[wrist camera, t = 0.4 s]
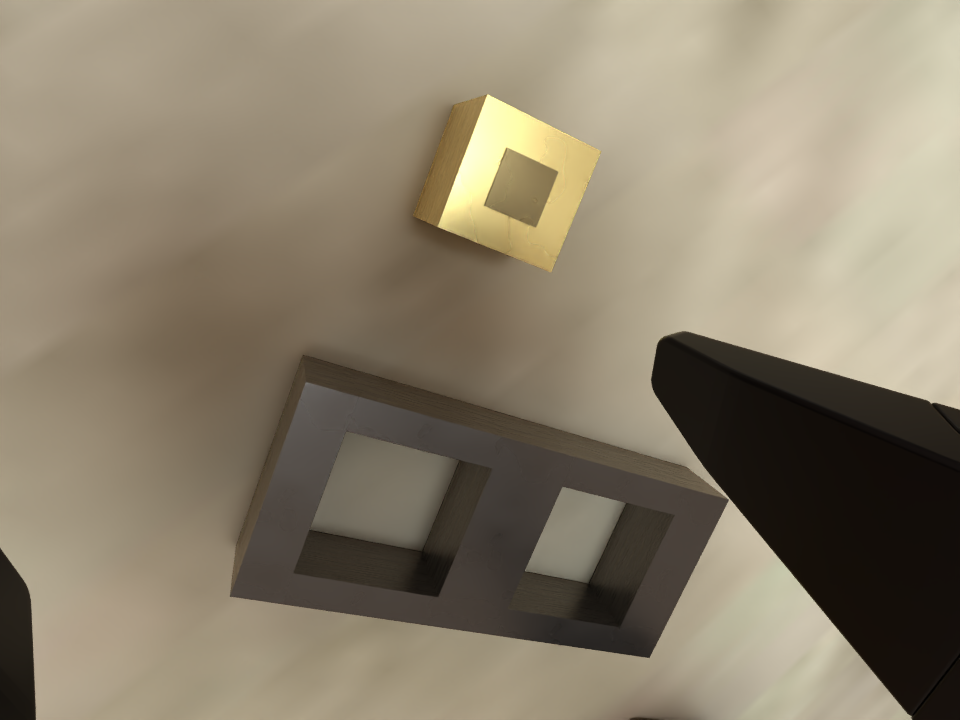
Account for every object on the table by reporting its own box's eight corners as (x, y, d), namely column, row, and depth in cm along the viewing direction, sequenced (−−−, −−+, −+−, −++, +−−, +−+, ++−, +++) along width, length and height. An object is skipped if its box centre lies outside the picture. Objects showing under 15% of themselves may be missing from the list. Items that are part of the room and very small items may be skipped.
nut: (551, 152, 23) (602, 151, 20) (510, 255, 24) (552, 272, 20) (453, 105, 22) (488, 94, 18) (412, 215, 23) (438, 227, 19)
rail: (687, 467, 29) (729, 499, 27) (616, 613, 31) (649, 657, 28) (302, 354, 23) (306, 381, 20) (235, 546, 24) (229, 596, 22)
